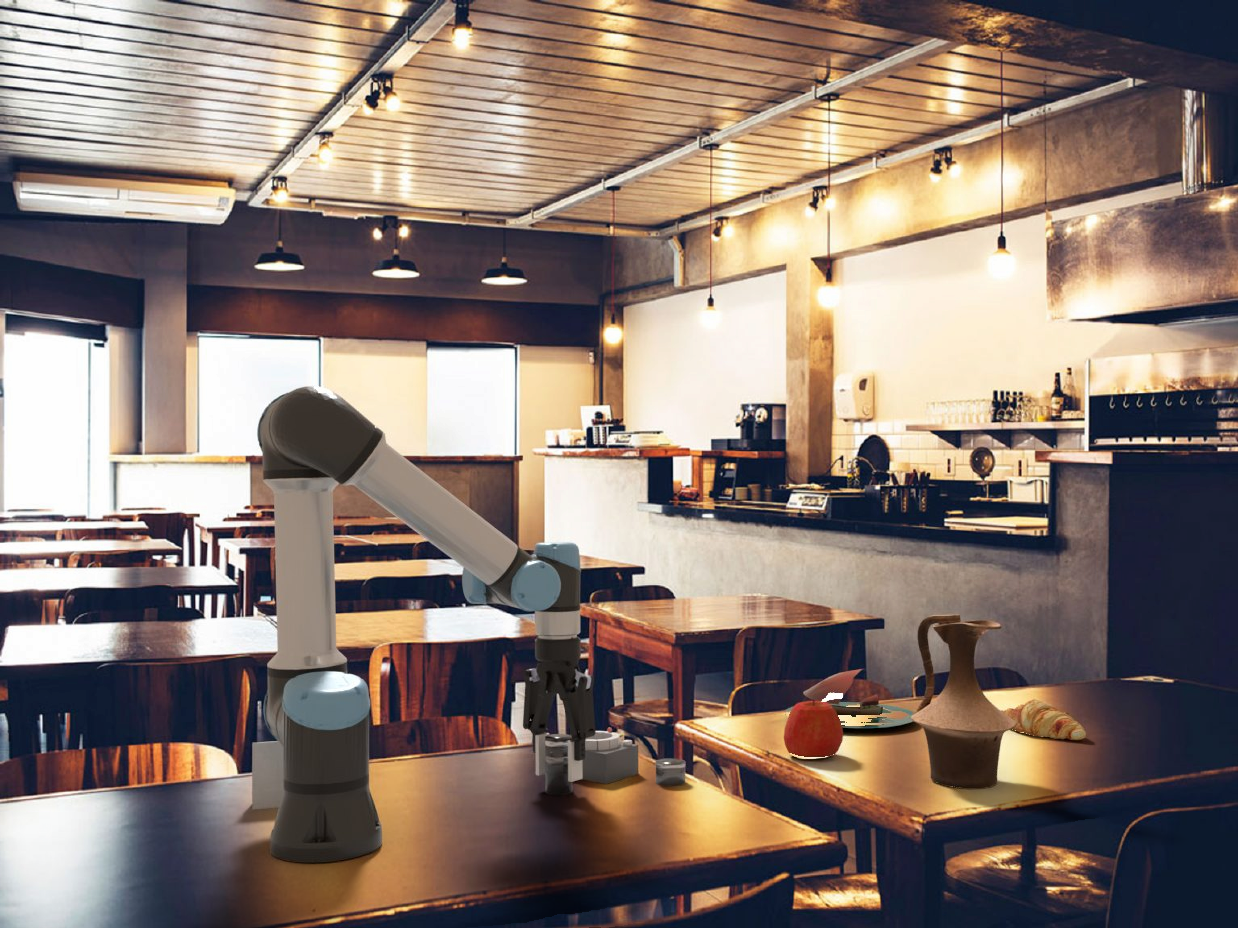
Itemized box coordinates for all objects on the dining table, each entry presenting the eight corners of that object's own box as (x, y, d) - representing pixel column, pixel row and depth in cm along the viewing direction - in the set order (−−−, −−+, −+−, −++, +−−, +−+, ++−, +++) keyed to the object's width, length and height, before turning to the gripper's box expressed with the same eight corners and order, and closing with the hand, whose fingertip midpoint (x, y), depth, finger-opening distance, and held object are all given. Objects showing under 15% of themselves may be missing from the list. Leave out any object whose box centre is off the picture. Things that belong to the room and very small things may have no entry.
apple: (838, 765, 209) (837, 705, 209) (778, 761, 212) (777, 702, 213) (847, 752, 219) (846, 695, 219) (789, 749, 222) (788, 692, 223)
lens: (560, 796, 189) (559, 740, 189) (539, 792, 192) (538, 737, 192) (578, 790, 192) (578, 735, 193) (557, 786, 195) (557, 732, 195)
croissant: (1095, 759, 227) (1107, 720, 229) (1065, 740, 222) (1077, 701, 224) (1007, 737, 245) (1019, 702, 247) (978, 720, 241) (990, 684, 243)
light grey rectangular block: (297, 805, 185) (296, 742, 185) (252, 809, 183) (252, 745, 183) (296, 800, 188) (296, 737, 188) (252, 803, 186) (252, 740, 187)
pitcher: (890, 781, 196) (888, 615, 197) (939, 764, 209) (936, 607, 210) (989, 799, 185) (986, 622, 185) (1035, 779, 197) (1032, 613, 198)
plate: (770, 711, 261) (769, 661, 261) (891, 707, 264) (891, 658, 264) (803, 737, 233) (803, 681, 233) (939, 733, 236) (938, 677, 236)
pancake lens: (673, 787, 194) (673, 766, 194) (649, 783, 197) (649, 762, 197) (691, 781, 198) (691, 761, 198) (667, 777, 201) (667, 757, 201)
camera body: (605, 783, 197) (605, 739, 197) (552, 773, 204) (552, 731, 204) (638, 773, 204) (638, 730, 204) (585, 764, 211) (585, 723, 211)
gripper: (618, 637, 189) (619, 780, 189) (530, 629, 202) (531, 764, 201) (588, 642, 184) (589, 790, 183) (499, 634, 196) (500, 772, 195)
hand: (558, 776), depth 192 cm, fingers open, 6 cm apart
